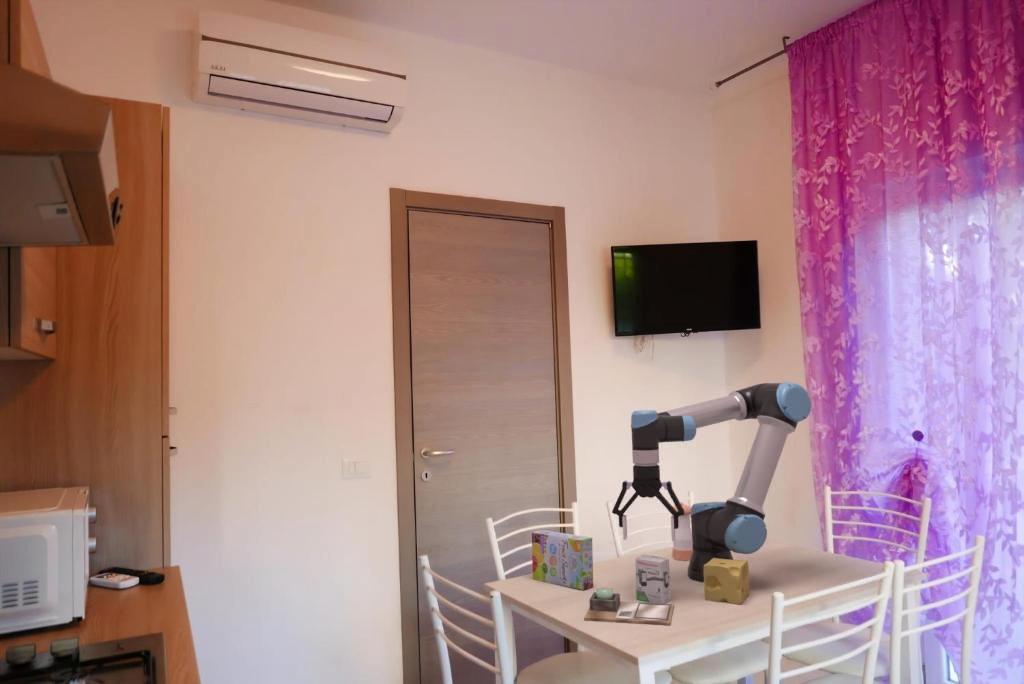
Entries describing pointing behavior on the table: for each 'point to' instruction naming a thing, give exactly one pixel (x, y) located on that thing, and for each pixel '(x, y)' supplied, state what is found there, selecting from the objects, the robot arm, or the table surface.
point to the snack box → (562, 559)
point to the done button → (604, 593)
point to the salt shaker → (683, 536)
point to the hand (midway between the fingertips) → (649, 539)
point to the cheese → (726, 580)
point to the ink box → (652, 579)
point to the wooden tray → (628, 611)
